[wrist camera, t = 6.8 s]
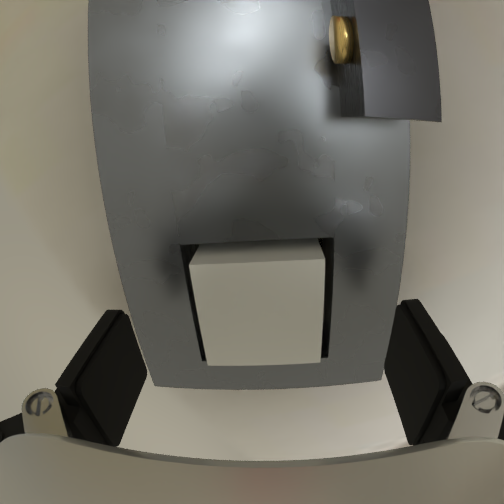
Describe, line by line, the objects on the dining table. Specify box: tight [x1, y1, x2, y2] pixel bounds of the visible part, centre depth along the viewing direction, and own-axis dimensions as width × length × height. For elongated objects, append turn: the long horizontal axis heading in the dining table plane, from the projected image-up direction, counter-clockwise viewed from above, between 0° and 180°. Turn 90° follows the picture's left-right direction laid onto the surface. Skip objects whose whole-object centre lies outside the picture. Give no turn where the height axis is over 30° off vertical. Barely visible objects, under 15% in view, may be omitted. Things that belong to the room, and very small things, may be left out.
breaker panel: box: [88, 0, 442, 390], centre depth 12 cm, size 12×20×6 cm, turn 4°
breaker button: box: [189, 238, 325, 366], centre depth 14 cm, size 5×5×3 cm
